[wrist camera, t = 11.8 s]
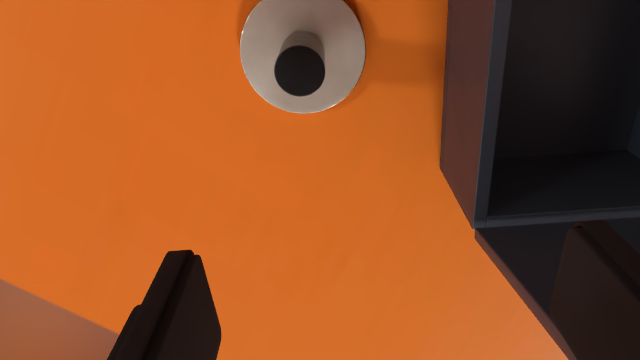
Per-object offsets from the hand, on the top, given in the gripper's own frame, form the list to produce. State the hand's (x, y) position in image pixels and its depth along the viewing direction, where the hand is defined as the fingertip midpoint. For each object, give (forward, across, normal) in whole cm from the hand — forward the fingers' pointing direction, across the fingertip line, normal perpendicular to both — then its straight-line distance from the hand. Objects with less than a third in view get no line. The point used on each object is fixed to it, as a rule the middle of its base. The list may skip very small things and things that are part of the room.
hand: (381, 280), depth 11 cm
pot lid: (+20, +2, -2) cm, 20 cm away
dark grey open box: (+20, -14, 0) cm, 24 cm away
